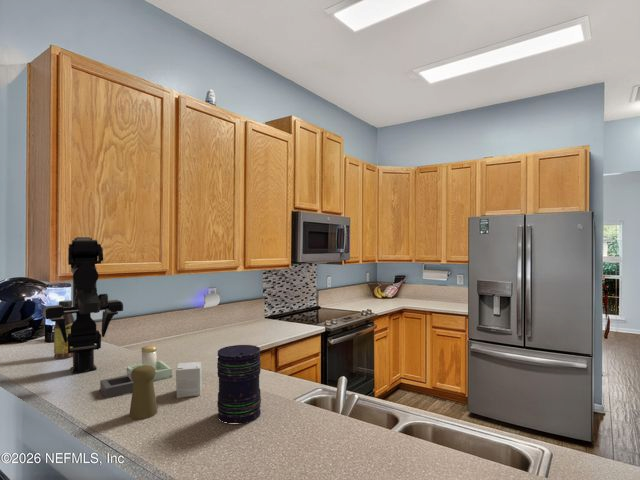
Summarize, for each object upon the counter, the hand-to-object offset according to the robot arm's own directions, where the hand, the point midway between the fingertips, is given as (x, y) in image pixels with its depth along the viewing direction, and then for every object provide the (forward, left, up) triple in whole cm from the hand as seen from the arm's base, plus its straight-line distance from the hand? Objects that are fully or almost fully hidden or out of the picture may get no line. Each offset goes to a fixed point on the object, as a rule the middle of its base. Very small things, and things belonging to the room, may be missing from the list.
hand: (84, 339), depth 109 cm
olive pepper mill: (+31, +8, -13) cm, 34 cm away
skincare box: (+25, +21, -13) cm, 35 cm away
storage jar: (+46, +25, -13) cm, 53 cm away
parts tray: (+4, +16, -13) cm, 21 cm away
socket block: (+11, +7, -13) cm, 18 cm away
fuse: (+4, +16, -12) cm, 21 cm away
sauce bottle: (-37, -1, -13) cm, 40 cm away
